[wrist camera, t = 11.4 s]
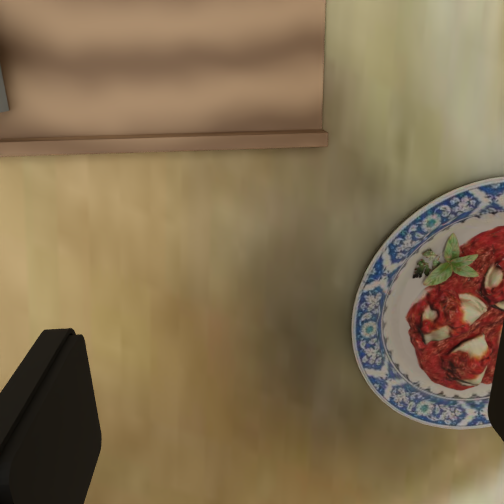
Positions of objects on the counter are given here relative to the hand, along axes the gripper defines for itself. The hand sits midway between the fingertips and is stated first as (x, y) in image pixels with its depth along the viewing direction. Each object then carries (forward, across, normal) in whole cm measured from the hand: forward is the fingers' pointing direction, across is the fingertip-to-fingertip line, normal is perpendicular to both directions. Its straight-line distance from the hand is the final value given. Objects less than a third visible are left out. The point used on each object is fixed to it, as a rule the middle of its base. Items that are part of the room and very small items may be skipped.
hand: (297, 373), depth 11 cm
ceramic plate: (+31, -22, +15) cm, 41 cm away
